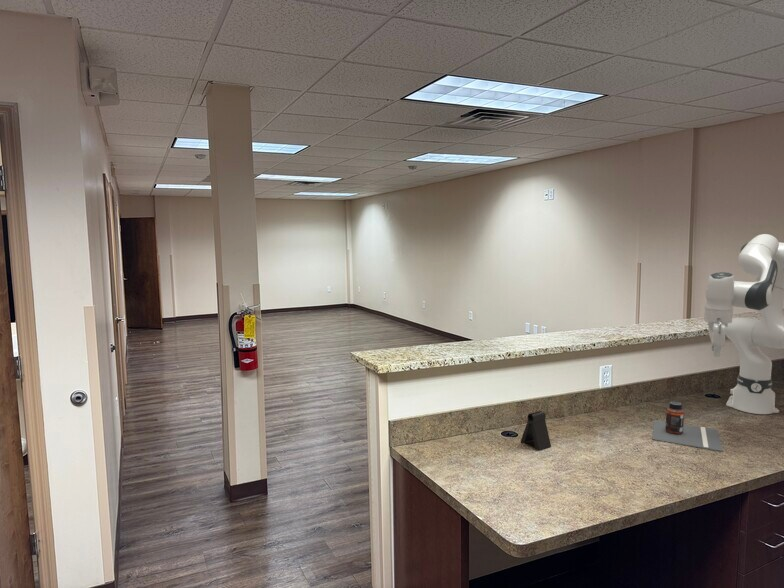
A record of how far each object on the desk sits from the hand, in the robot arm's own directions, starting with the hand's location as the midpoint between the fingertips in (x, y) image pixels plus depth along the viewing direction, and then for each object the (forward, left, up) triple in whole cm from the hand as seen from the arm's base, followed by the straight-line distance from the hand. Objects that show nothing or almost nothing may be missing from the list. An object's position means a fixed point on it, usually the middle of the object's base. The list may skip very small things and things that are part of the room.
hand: (715, 353), depth 194 cm
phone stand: (+41, -56, -31) cm, 76 cm away
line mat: (+6, -8, -31) cm, 33 cm away
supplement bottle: (+6, -12, -31) cm, 34 cm away
